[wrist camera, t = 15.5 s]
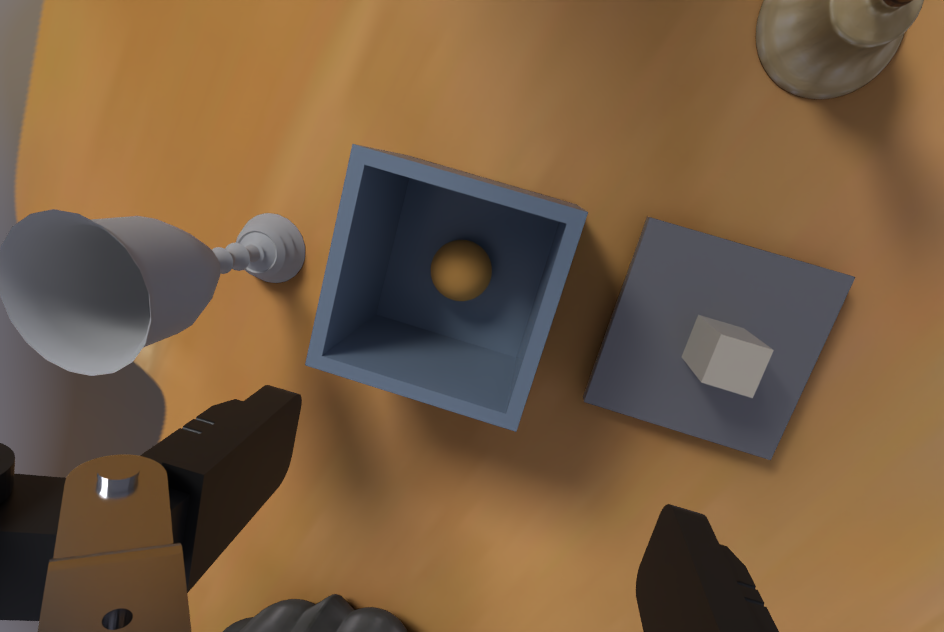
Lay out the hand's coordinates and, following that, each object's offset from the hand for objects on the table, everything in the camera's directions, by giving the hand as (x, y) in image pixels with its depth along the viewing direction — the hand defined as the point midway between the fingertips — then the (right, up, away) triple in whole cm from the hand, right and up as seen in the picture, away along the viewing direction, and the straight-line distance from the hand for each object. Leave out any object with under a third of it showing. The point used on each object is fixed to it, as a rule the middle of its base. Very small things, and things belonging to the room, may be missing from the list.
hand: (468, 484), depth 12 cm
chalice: (-14, +9, +29) cm, 34 cm away
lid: (+16, +2, +27) cm, 32 cm away
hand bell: (+21, +21, +22) cm, 37 cm away
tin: (0, +7, +28) cm, 29 cm away
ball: (-1, +7, +25) cm, 26 cm away
